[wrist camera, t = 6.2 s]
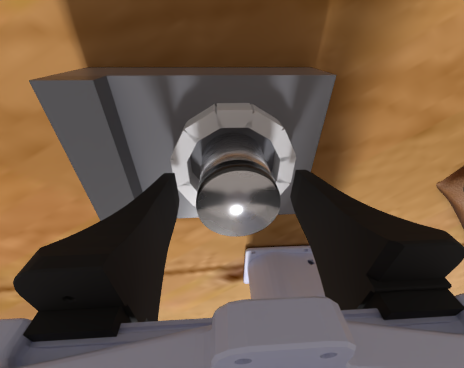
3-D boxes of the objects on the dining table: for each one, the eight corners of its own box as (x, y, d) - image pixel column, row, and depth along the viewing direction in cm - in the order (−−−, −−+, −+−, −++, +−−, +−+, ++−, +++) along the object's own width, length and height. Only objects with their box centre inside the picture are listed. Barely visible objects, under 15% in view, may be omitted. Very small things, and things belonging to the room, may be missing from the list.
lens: (268, 132, 14) (290, 172, 10) (259, 186, 16) (273, 236, 12) (200, 130, 13) (193, 171, 9) (202, 186, 16) (197, 237, 12)
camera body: (310, 67, 15) (349, 79, 11) (287, 187, 22) (305, 226, 17) (87, 67, 14) (28, 80, 10) (131, 191, 21) (107, 234, 16)
